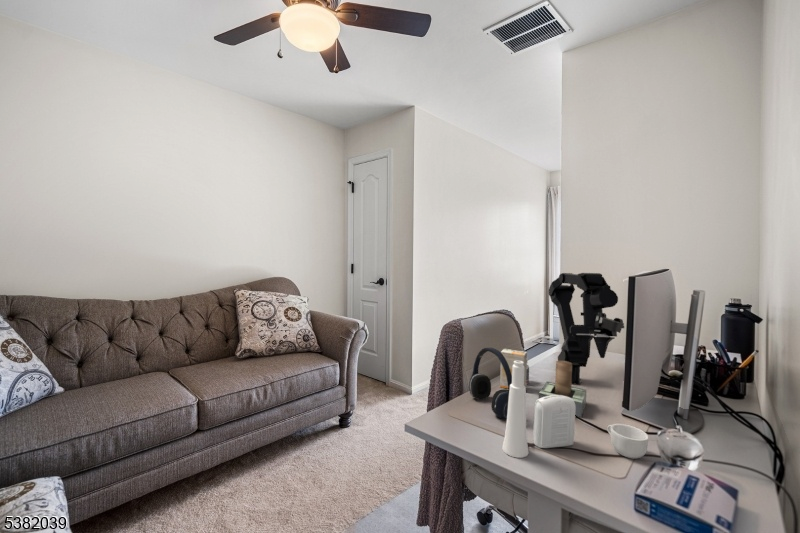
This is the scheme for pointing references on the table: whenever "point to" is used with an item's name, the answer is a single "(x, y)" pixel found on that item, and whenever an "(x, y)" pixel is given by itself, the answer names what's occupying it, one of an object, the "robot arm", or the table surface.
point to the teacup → (628, 440)
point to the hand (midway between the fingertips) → (595, 357)
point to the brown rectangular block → (563, 378)
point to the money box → (576, 395)
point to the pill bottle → (527, 375)
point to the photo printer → (554, 421)
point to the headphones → (482, 385)
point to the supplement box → (510, 358)
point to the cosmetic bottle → (516, 415)
